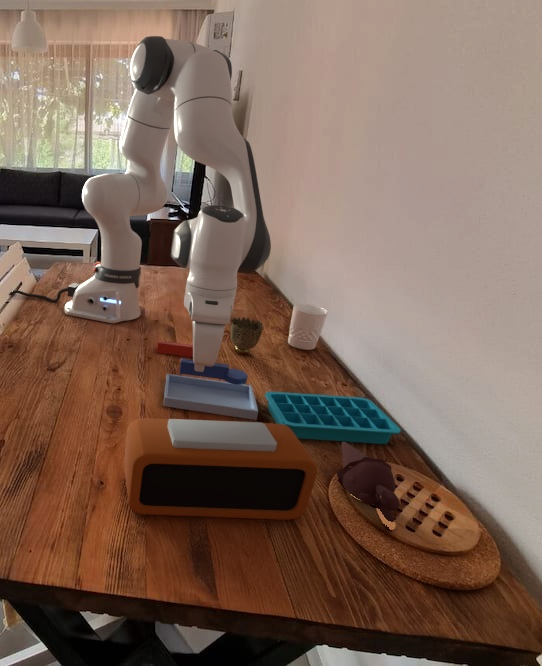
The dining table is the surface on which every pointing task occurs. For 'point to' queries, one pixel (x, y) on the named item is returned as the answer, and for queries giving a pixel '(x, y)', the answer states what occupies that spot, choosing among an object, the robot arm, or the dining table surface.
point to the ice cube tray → (331, 417)
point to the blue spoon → (214, 372)
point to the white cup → (306, 326)
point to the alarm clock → (217, 469)
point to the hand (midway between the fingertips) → (198, 366)
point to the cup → (245, 334)
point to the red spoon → (175, 348)
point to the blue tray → (210, 396)
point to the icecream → (369, 481)
